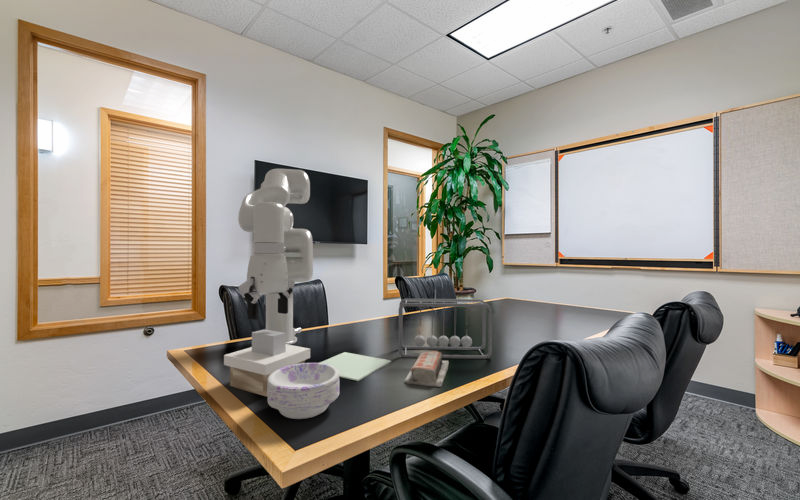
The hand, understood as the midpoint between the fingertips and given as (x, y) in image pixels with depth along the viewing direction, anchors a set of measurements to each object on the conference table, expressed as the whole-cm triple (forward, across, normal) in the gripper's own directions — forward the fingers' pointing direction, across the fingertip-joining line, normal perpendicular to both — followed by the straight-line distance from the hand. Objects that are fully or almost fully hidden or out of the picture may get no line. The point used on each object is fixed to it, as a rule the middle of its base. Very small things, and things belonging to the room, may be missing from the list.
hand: (268, 316), depth 92 cm
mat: (+17, -22, +10) cm, 30 cm away
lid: (+12, -1, 0) cm, 12 cm away
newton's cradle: (+18, -47, +30) cm, 58 cm away
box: (+17, -1, -1) cm, 17 cm away
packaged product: (+18, -27, +33) cm, 47 cm away
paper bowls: (+18, +6, +18) cm, 27 cm away
